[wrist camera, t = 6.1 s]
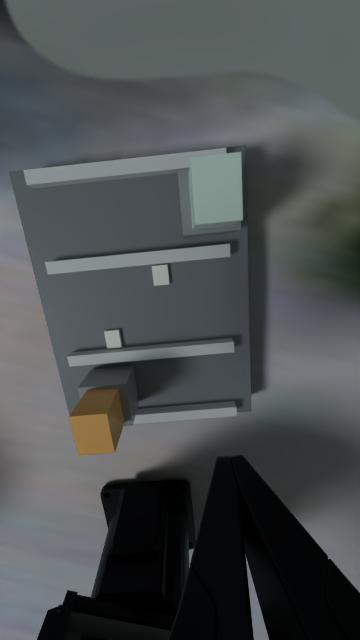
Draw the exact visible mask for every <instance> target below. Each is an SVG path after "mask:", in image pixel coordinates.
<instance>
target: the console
mask: <svg viewBox="0 0 360 640" xmlns="http://www.w3.org/2000/svg"><path fill="white" fill-rule="evenodd" d="M235 152H241V164H242V202H243V220H242V221H241V230H239V231H236V232H233V233H226V234H216V235H206V236H197V237H187V238H183V233H182V222H181V211H180V199H179V188H178V171H183V170H189V165H190V157H199V156H208V155H217V154H226V153H235ZM9 174H10V178H11V182H12V186H13V190H14V194H15V198H16V202H17V206H18V210H19V214H20V218H21V222H22V226H23V230H24V234H25V238H26V242H27V246H28V250H29V254H30V258H31V262H32V266H33V270H34V274H35V278H36V282H37V286H38V290H39V294H40V298H41V302H42V306H43V310H44V314H45V318H46V322H47V326H48V330H49V334H50V338H51V342H52V346H53V350H54V354H55V358H56V362H57V366H58V370H59V374H60V378H61V382H62V386H63V390H64V394H65V398H66V402H67V406H68V410H69V414H71V413H72V411H73V410H74V408H75V407H76V405H77V404H78V402H79V401H80V396H79V392H78V387H79V385H80V384H81V383H82V381H83V380H84V379H85V377H86V376H87V375H88V373H89V372H90V371H91V369H100V368H112V367H123V366H133V368H134V374H135V380H136V387H137V393H138V399H139V404H138V408H137V412H136V415H135V419H134V423H133V424H143V423H156V422H168V421H181V420H193V419H206V418H218V417H231V416H237V412H247V411H251V371H250V325H249V279H248V233H247V187H246V146H237V147H228V148H219V149H210V150H201V151H192V152H182V153H173V154H164V155H155V156H146V157H137V158H128V159H119V160H110V161H101V162H92V163H83V164H74V165H65V166H56V167H47V168H37V169H28V170H19V171H10V172H9Z"/></svg>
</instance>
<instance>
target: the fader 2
mask: <svg viewBox="0 0 360 640" xmlns="http://www.w3.org/2000/svg"><path fill="white" fill-rule="evenodd" d="M178 188H179V199H180V211H181V222H182V233H183V238H187V237H197V236H206V235H216V234H226V233H233V232H236V231H239V230H241V221H242V220H243V202H242V164H241V152H235V153H226V154H217V155H208V156H199V157H190V165H189V170H183V171H178Z"/></svg>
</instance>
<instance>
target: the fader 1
mask: <svg viewBox="0 0 360 640" xmlns="http://www.w3.org/2000/svg"><path fill="white" fill-rule="evenodd" d="M78 392H79V396H80V401H79V402H78V404H77V405H76V407H75V408H74V410H73V411H72V413H71V414H70V416H69V419H70V423H71V427H72V431H73V435H74V439H75V443H76V447H77V451H78V455H79V456H81V455H94V454H106V453H115V450H116V447H117V444H118V441H119V438H120V435H121V432H122V429H123V426H129V425H133V423H134V419H135V415H136V412H137V408H138V404H139V399H138V393H137V387H136V380H135V374H134V368H133V366H123V367H112V368H100V369H91V371H90V372H89V373H88V375H87V376H86V377H85V379H84V380H83V381H82V383H81V384H80V385H79V387H78Z"/></svg>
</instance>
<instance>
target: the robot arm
mask: <svg viewBox="0 0 360 640" xmlns="http://www.w3.org/2000/svg"><path fill="white" fill-rule="evenodd" d="M183 487H184V488H183ZM101 500H102V504H103V508H104V513H105V517H106V521H107V525H108V533H107V537H106V541H105V545H104V548H103V552H102V556H101V560H100V564H99V568H98V572H97V576H96V579H95V583H94V587H93V591H92V595H91V597H86V596H81V595H77V593H78V592H75V591H70V590H67V593H66V596H65V599H64V602H63V605H59V606H58V607H55V608H53V609H50V610H48V611H47V614H46V617H45V619H44V622H43V625H42V628H41V630H40V633H39V636H38V638H37V640H254V638H253V627H252V617H251V607H250V597H249V587H248V577H247V567H246V557H247V561H248V564H249V568H250V572H251V575H252V579H253V583H254V586H255V590H256V593H257V597H258V601H259V604H260V608H261V611H262V615H263V619H264V622H265V626H266V630H267V633H268V637H269V640H360V593H359V592H358V590H357V589H356V588H355V587H354V586H353V585H352V584H351V582H350V581H349V580H348V579H347V578H346V577H345V576H344V574H343V573H342V572H341V571H340V570H339V568H338V567H337V566H336V565H335V564H334V563H333V561H332V560H331V559H328V556H327V554H326V553H325V552H324V551H323V550H322V549H321V547H320V546H319V545H318V544H317V543H316V541H315V540H314V539H313V538H312V537H311V536H310V534H309V533H308V532H307V531H306V530H305V528H304V527H303V526H302V525H301V524H300V523H299V521H298V520H297V519H296V518H295V517H294V515H293V514H292V513H291V512H290V511H289V510H288V508H287V507H286V506H285V505H284V504H283V502H282V501H281V500H280V499H279V498H278V497H277V495H276V494H275V493H274V492H273V491H272V489H271V488H270V487H269V486H268V485H267V484H266V482H265V481H264V480H263V479H262V478H261V476H260V475H259V474H258V473H257V472H256V471H255V469H254V468H253V467H252V466H251V465H250V463H249V462H248V461H247V460H246V459H245V458H244V456H242V455H232V456H230V457H229V456H219V457H217V459H216V463H215V467H214V471H213V475H212V479H211V483H210V487H209V491H208V495H207V499H206V503H205V507H204V511H203V515H202V519H201V523H200V527H199V531H198V535H197V539H196V536H195V526H194V517H193V508H192V499H191V490H190V483H189V482H188V481H187V480H184V479H181V480H167V481H154V482H140V483H127V484H113V485H105V486H104V487H103V488H102V491H101ZM193 548H194V551H193V555H192V559H191V563H190V568H189V550H190V549H193ZM245 554H246V557H245Z"/></svg>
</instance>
